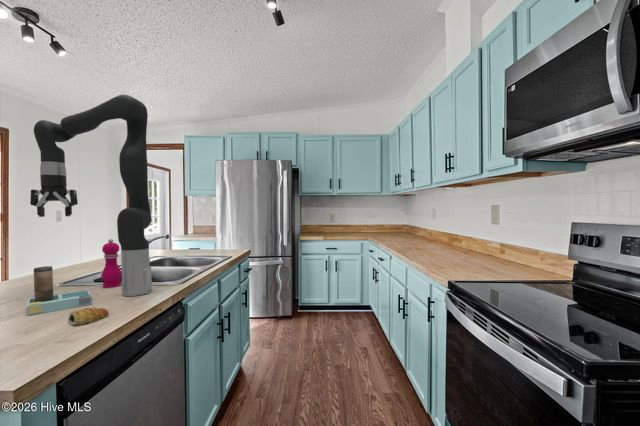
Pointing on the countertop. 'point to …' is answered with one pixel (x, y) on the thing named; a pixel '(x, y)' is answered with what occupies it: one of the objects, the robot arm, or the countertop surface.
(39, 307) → the socket block
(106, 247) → the pepper mill
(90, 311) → the pastry
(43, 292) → the walnut peg
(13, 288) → the countertop surface
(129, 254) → the robot arm
